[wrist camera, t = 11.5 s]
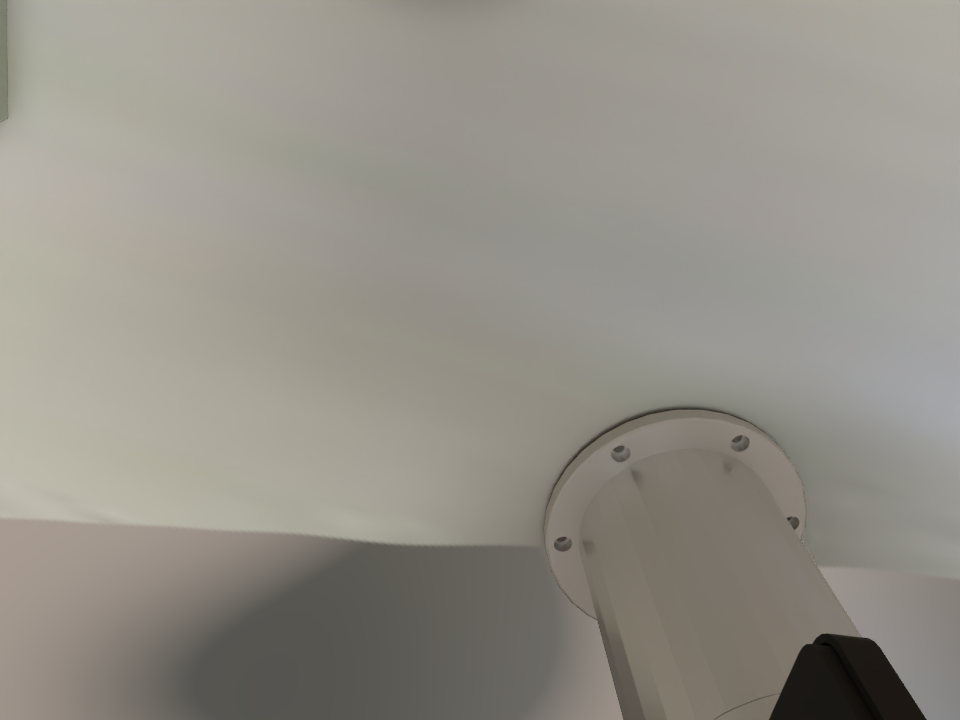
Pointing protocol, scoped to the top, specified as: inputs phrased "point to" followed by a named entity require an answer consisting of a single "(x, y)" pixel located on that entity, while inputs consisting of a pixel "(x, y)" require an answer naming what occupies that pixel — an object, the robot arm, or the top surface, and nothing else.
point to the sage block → (3, 62)
